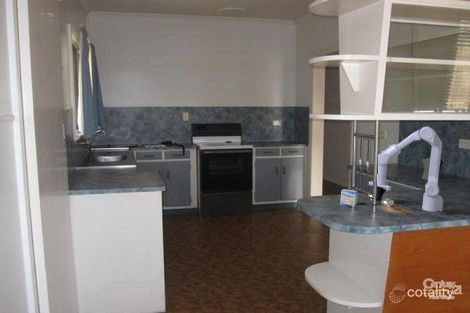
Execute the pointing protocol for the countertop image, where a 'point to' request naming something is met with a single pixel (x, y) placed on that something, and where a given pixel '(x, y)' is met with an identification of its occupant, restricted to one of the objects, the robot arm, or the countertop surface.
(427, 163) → the coffeepot
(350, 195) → the medicine box
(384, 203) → the metal cover
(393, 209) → the turntable
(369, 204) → the dial gauge
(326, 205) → the countertop surface
